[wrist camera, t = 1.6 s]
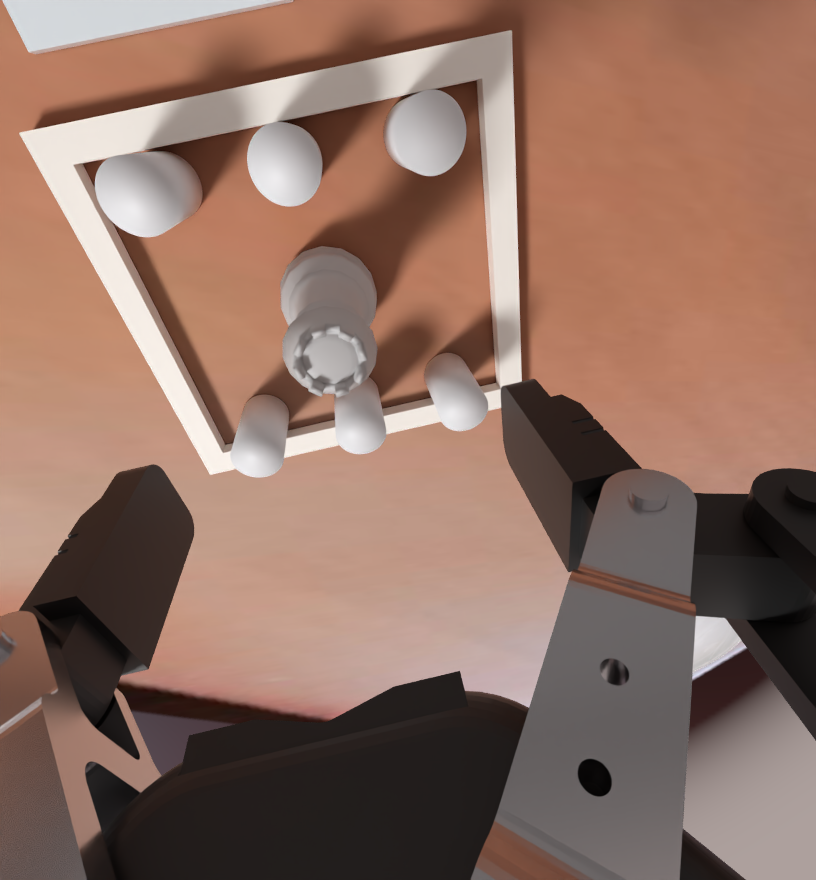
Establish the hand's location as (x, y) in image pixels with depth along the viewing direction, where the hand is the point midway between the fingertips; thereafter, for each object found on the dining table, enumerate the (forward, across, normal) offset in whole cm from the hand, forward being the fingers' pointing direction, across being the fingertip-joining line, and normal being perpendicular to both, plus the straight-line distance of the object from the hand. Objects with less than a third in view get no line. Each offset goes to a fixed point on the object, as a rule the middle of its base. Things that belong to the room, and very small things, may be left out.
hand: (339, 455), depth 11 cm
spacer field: (+13, 0, 0) cm, 13 cm away
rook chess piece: (+13, 0, 0) cm, 13 cm away
